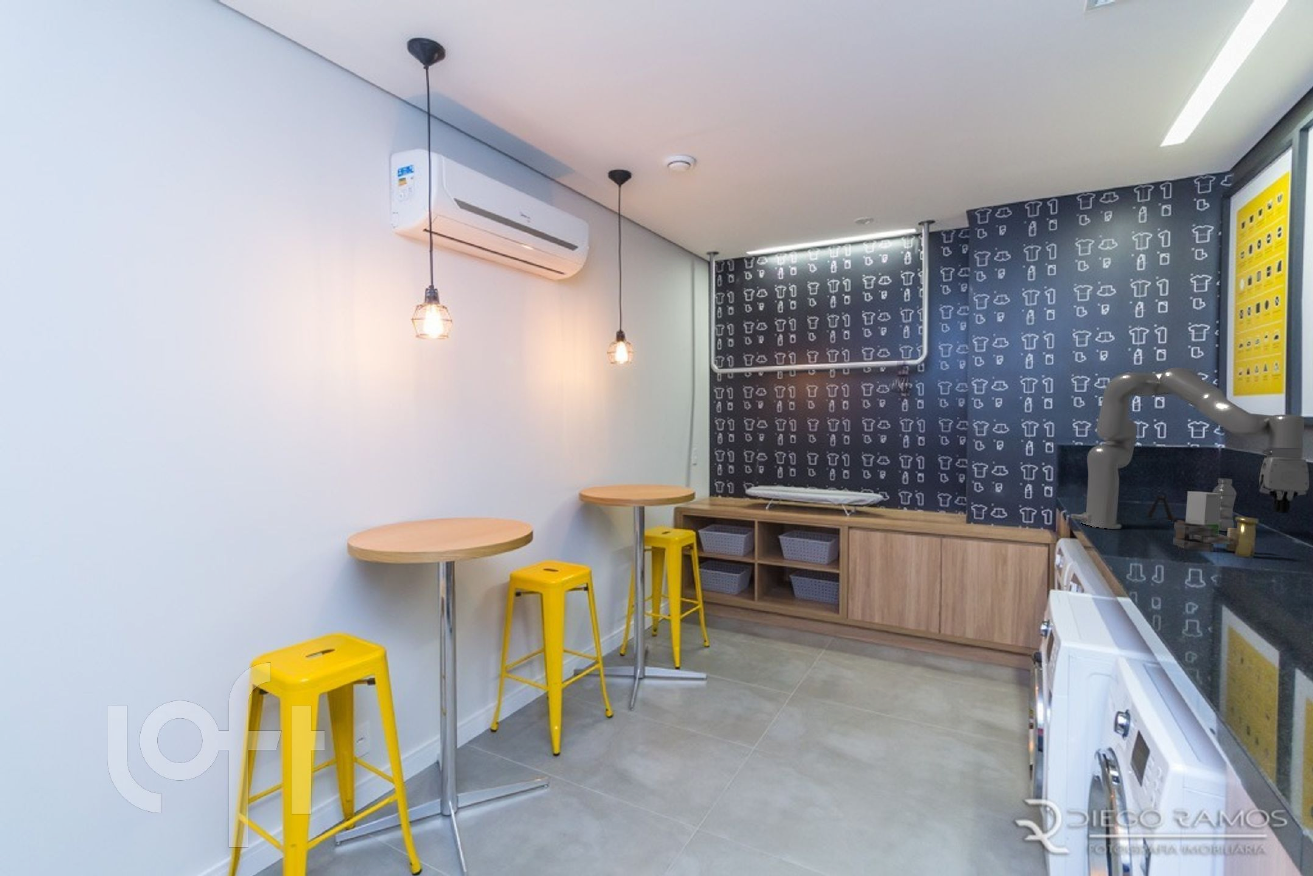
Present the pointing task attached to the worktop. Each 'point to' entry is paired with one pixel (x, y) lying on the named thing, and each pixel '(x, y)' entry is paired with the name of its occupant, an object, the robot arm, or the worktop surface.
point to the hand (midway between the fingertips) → (1281, 512)
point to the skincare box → (1204, 509)
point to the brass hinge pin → (1245, 536)
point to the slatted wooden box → (1193, 529)
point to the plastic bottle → (1226, 503)
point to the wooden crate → (1222, 539)
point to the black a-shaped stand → (1167, 508)
